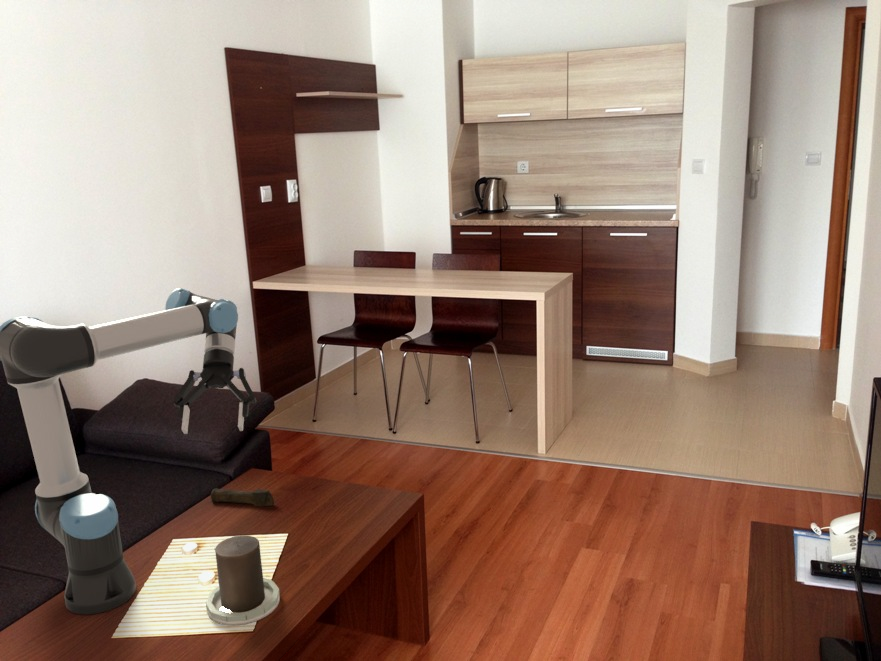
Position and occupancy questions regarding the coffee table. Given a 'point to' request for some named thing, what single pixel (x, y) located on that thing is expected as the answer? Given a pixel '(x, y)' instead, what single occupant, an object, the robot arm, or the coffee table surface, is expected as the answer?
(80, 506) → the robot arm
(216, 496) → the dark brown bark log
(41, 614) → the coffee table surface
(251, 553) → the pillar candle
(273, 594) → the candle plate
